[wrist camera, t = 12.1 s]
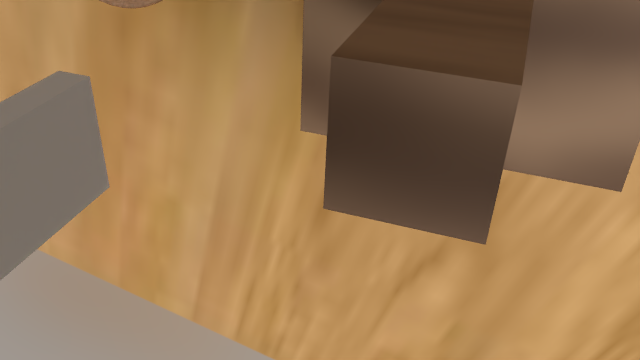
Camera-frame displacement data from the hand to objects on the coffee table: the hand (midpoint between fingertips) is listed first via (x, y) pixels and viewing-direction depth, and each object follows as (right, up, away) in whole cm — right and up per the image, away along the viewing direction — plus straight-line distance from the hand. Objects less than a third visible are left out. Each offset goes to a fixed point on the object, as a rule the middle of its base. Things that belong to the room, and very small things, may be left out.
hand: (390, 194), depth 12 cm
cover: (+9, +14, +23) cm, 28 cm away
